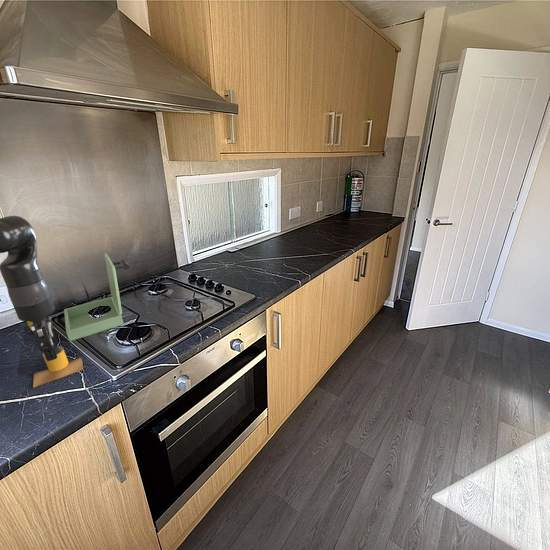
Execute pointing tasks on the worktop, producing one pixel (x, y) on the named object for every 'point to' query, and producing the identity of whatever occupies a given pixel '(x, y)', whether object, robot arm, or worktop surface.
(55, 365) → the pod
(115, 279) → the lid
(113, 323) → the box
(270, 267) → the worktop surface
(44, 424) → the worktop surface
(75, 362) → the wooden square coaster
